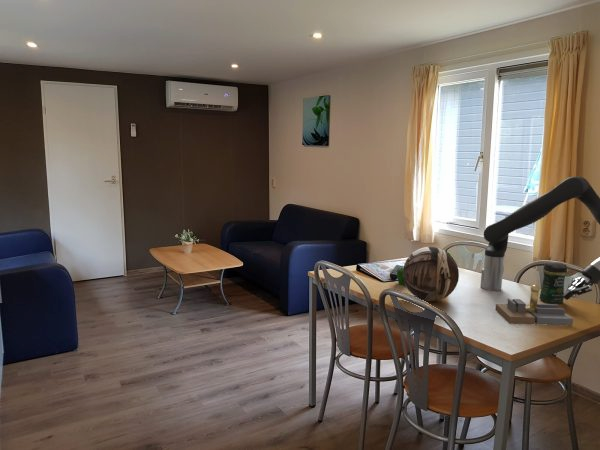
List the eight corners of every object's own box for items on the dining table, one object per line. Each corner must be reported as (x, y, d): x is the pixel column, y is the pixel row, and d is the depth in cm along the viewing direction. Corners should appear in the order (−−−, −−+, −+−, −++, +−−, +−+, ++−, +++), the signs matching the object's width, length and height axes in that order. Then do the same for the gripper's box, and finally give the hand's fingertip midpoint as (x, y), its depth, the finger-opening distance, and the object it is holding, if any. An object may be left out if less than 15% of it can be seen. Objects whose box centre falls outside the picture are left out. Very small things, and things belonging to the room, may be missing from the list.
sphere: (460, 311, 204) (464, 255, 199) (401, 306, 209) (404, 251, 204) (453, 293, 228) (457, 243, 224) (401, 289, 233) (403, 240, 228)
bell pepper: (393, 282, 244) (394, 264, 243) (406, 281, 248) (407, 262, 246) (403, 287, 237) (404, 268, 235) (416, 285, 240) (417, 266, 239)
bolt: (535, 309, 198) (538, 284, 196) (539, 312, 195) (542, 286, 193) (514, 308, 199) (516, 283, 197) (517, 311, 195) (520, 285, 193)
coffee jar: (547, 304, 214) (551, 265, 211) (536, 299, 222) (540, 261, 219) (566, 303, 216) (571, 265, 213) (555, 298, 224) (559, 260, 220)
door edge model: (553, 312, 205) (554, 296, 203) (572, 325, 189) (574, 309, 188) (495, 310, 206) (496, 294, 205) (509, 323, 190) (510, 307, 189)
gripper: (583, 260, 199) (550, 287, 201) (601, 268, 186) (566, 296, 188) (594, 272, 199) (562, 299, 202) (613, 281, 186) (578, 309, 189)
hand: (564, 297), depth 195 cm, fingers closed
